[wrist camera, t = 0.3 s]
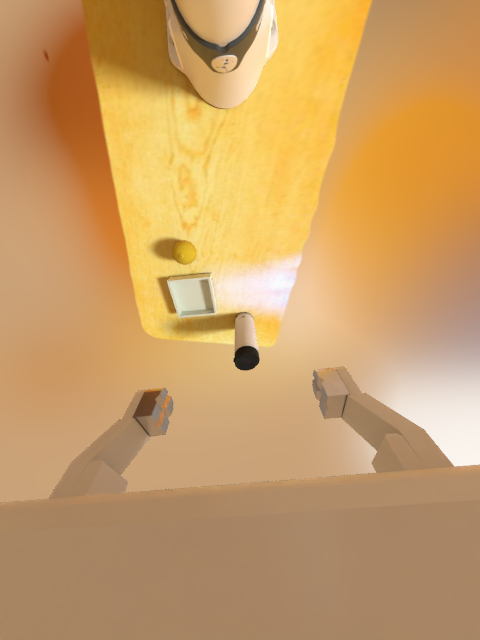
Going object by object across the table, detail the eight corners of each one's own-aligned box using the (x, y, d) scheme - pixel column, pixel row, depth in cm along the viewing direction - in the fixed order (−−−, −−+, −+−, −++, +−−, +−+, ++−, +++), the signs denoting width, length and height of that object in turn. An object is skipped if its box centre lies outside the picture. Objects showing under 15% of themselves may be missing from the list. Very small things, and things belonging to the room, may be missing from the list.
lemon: (186, 263, 52) (178, 272, 46) (173, 244, 50) (163, 251, 43) (202, 253, 51) (197, 261, 44) (190, 233, 48) (183, 239, 42)
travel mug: (239, 308, 61) (240, 350, 44) (257, 316, 62) (264, 359, 45) (231, 323, 64) (229, 368, 47) (248, 330, 65) (252, 375, 48)
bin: (170, 276, 54) (166, 281, 52) (211, 272, 54) (209, 276, 51) (181, 312, 61) (178, 317, 58) (217, 309, 60) (216, 314, 58)
